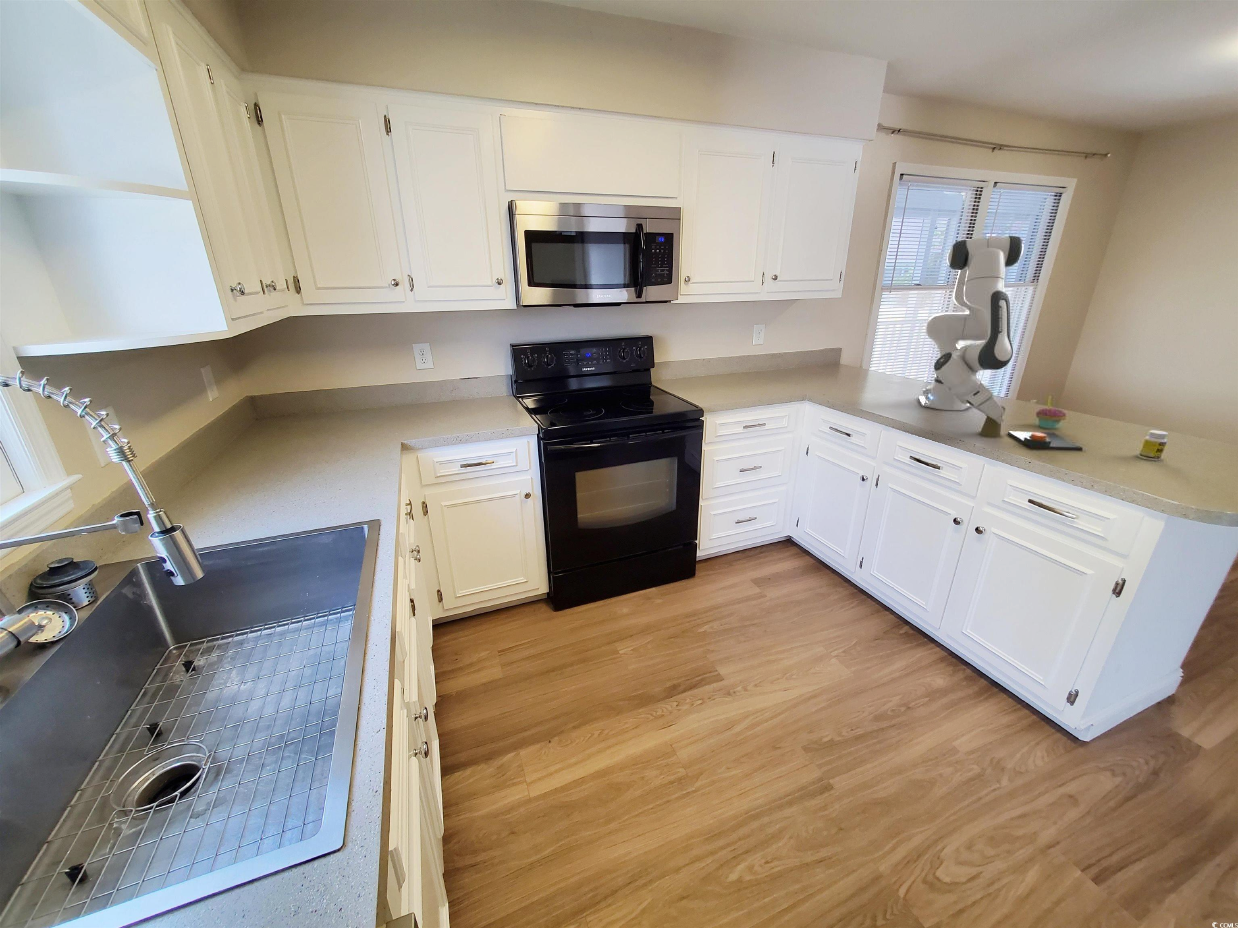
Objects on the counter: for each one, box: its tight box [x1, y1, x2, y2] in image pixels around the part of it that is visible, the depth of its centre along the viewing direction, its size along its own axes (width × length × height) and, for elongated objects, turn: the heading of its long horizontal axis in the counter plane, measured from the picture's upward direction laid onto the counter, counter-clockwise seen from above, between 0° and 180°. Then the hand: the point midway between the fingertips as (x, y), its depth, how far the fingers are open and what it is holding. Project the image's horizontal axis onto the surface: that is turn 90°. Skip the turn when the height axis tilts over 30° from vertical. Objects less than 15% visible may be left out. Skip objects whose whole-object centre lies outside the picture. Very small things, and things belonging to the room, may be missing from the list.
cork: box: [979, 404, 1006, 438], centre depth 175 cm, size 6×6×11 cm
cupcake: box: [1035, 394, 1067, 429], centre depth 181 cm, size 9×8×12 cm
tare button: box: [1030, 431, 1047, 440], centre depth 163 cm, size 4×4×2 cm
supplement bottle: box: [1138, 429, 1169, 461], centre depth 150 cm, size 5×5×8 cm
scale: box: [1007, 431, 1083, 452], centre depth 168 cm, size 16×15×3 cm
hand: (995, 419), depth 175 cm, fingers open, 6 cm apart
